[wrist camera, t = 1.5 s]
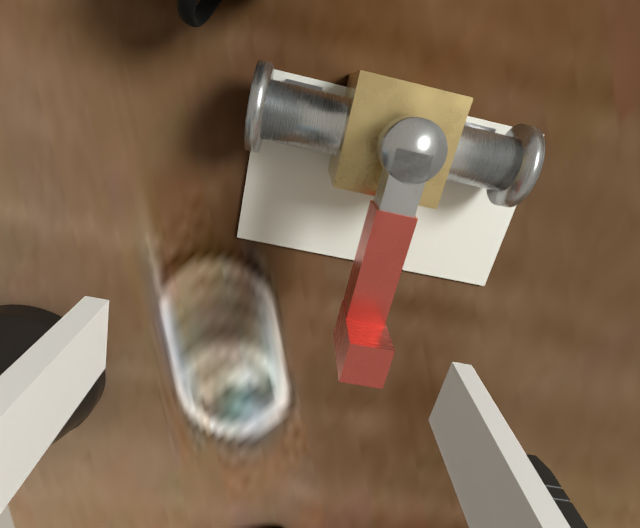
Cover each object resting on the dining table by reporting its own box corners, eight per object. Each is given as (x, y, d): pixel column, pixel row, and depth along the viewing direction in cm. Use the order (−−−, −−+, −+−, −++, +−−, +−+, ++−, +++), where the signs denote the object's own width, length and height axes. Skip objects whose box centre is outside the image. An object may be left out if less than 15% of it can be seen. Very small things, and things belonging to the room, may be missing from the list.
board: (237, 235, 41) (236, 237, 41) (264, 66, 36) (263, 66, 35) (482, 284, 44) (484, 285, 43) (542, 134, 38) (544, 134, 38)
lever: (385, 109, 28) (406, 113, 22) (443, 123, 28) (478, 131, 23) (327, 331, 34) (331, 380, 28) (375, 340, 34) (389, 389, 29)
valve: (250, 151, 38) (234, 170, 29) (266, 53, 35) (253, 41, 26) (482, 202, 40) (532, 233, 32) (515, 115, 38) (579, 122, 29)
